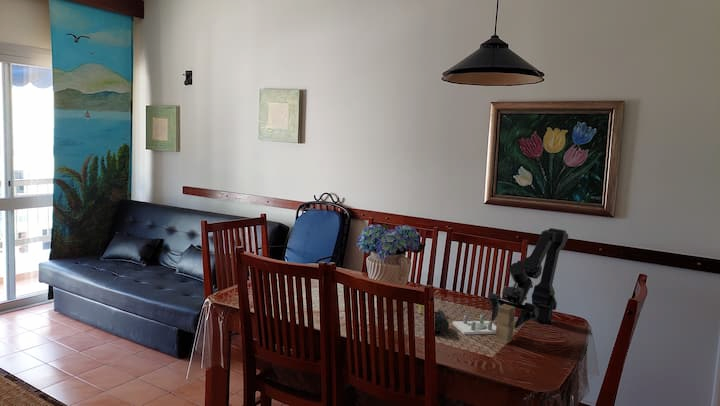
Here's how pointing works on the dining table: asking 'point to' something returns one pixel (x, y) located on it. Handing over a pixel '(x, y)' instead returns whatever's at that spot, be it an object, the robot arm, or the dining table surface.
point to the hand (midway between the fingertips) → (503, 324)
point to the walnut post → (505, 323)
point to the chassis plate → (475, 326)
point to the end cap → (441, 323)
